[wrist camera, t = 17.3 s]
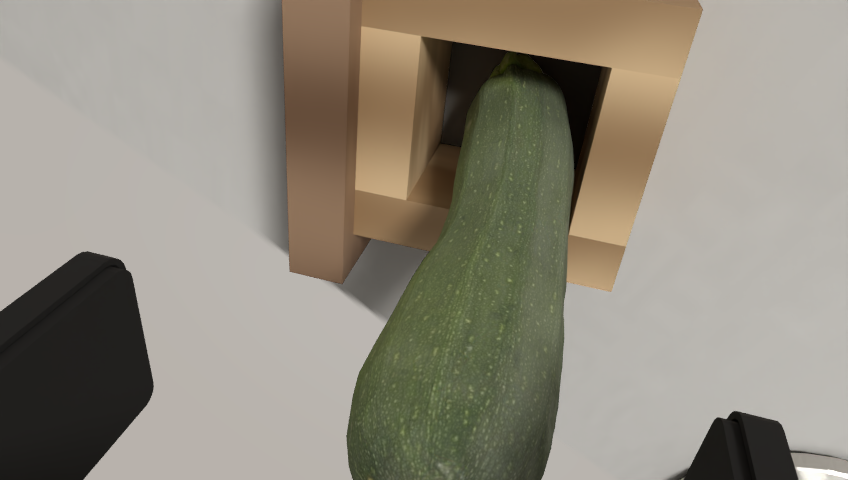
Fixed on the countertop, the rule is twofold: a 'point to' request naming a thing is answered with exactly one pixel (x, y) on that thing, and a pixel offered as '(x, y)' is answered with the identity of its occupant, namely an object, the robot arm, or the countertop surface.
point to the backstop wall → (322, 134)
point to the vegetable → (480, 305)
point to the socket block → (532, 34)
